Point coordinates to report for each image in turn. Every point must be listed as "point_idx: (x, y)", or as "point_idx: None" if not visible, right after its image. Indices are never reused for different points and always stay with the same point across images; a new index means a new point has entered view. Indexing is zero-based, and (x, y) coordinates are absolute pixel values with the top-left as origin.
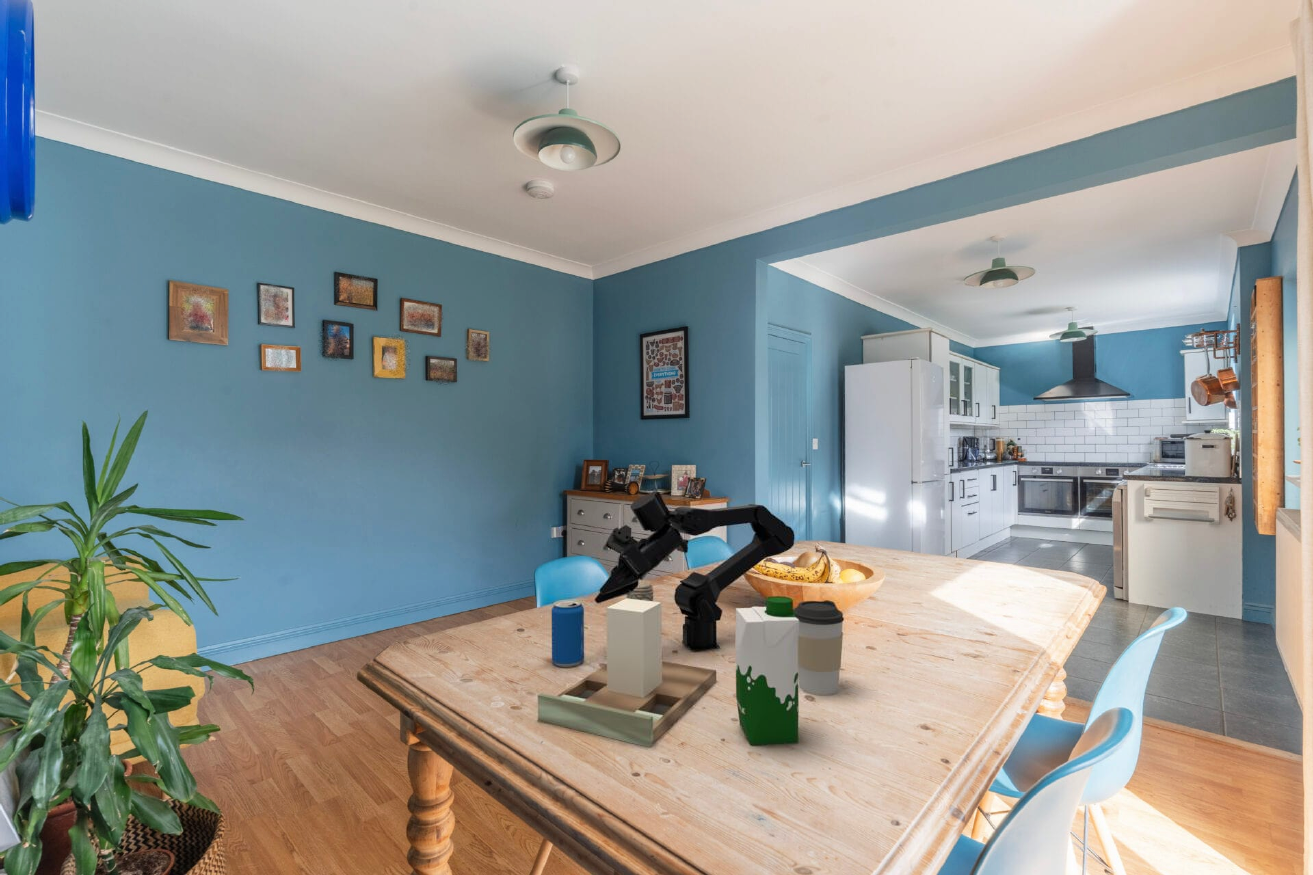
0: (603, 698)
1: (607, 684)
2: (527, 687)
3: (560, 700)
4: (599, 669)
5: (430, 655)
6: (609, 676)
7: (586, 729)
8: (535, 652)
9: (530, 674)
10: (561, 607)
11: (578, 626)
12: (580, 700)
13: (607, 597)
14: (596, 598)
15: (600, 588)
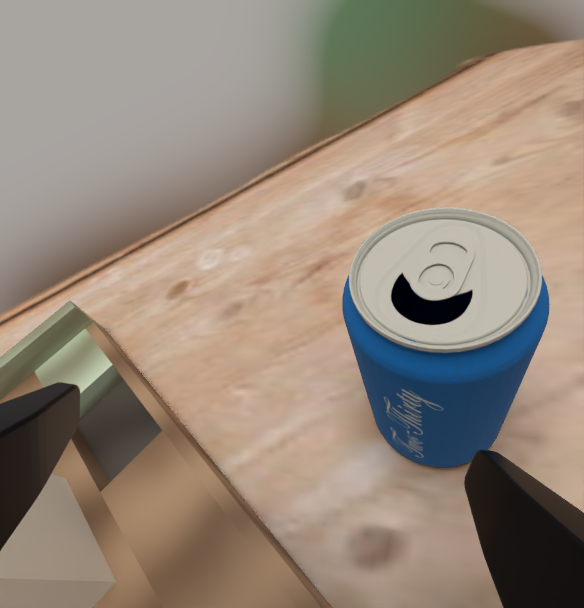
0: None
1: (51, 475)
2: (267, 301)
3: (19, 342)
4: (221, 488)
5: (541, 97)
6: None
7: None
8: (564, 304)
9: None
10: (360, 249)
11: (369, 382)
12: None
13: (515, 597)
14: (482, 464)
15: (50, 386)
